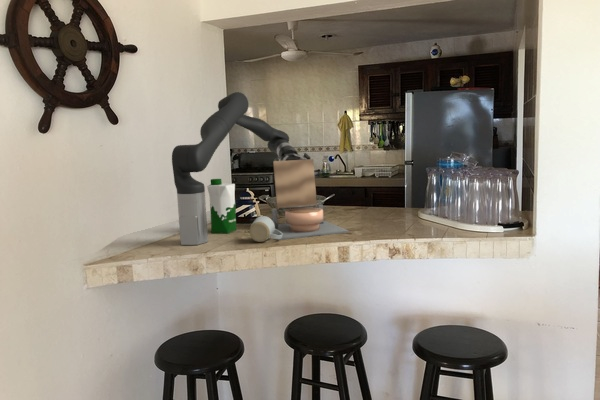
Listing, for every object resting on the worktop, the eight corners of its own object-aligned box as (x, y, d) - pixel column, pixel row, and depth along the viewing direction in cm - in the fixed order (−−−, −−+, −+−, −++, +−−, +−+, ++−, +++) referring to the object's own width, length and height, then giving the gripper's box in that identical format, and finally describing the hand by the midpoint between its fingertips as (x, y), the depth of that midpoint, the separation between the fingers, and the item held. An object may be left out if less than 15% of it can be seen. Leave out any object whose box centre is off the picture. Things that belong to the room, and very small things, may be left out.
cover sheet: (277, 209, 173) (277, 209, 174) (317, 206, 178) (316, 206, 179) (273, 161, 173) (273, 161, 174) (313, 159, 178) (312, 159, 179)
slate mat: (260, 227, 180) (260, 225, 180) (321, 220, 188) (321, 219, 188) (279, 240, 156) (279, 238, 156) (348, 232, 164) (348, 230, 164)
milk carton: (219, 228, 180) (216, 178, 177) (240, 229, 177) (237, 178, 174) (207, 233, 171) (204, 180, 169) (229, 234, 168) (226, 180, 166)
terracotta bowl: (321, 232, 162) (321, 213, 161) (282, 233, 164) (282, 213, 163) (325, 225, 176) (324, 207, 175) (289, 225, 177) (288, 207, 177)
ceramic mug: (249, 243, 152) (246, 221, 151) (254, 238, 160) (252, 216, 159) (280, 241, 150) (278, 218, 149) (284, 236, 159) (282, 214, 158)
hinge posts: (272, 229, 174) (271, 208, 173) (321, 224, 181) (320, 204, 180) (273, 230, 173) (272, 209, 172) (323, 225, 179) (322, 205, 178)
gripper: (270, 147, 192) (278, 160, 178) (302, 143, 195) (313, 155, 181) (271, 163, 195) (280, 177, 181) (303, 159, 199) (314, 172, 184)
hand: (296, 166), depth 181 cm, fingers open, 8 cm apart
